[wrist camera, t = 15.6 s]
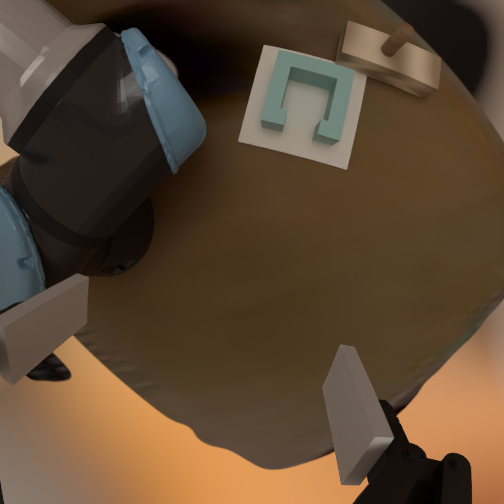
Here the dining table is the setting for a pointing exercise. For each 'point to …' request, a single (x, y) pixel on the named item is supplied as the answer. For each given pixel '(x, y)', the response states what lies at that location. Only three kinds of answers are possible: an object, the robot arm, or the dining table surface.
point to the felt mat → (300, 116)
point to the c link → (315, 75)
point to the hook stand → (389, 58)
